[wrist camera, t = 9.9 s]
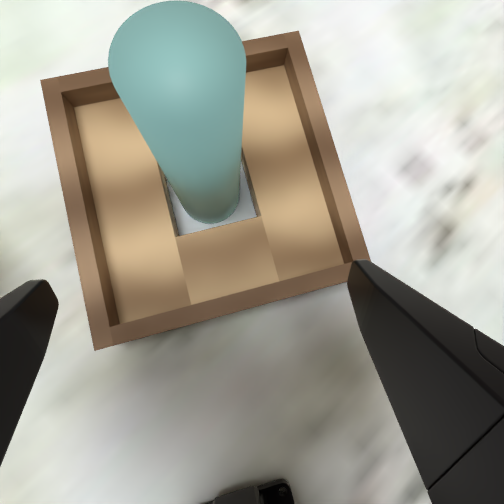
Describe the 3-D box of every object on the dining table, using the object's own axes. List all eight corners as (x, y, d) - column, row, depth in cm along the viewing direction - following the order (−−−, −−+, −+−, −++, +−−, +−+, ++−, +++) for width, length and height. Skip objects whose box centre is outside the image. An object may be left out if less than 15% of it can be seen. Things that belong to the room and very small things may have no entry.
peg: (250, 190, 22) (272, 52, 9) (215, 234, 21) (190, 151, 9) (204, 157, 22) (167, -23, 9) (169, 200, 21) (79, 69, 9)
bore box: (351, 277, 21) (374, 273, 18) (118, 340, 20) (94, 350, 16) (288, 70, 23) (298, 30, 20) (71, 114, 22) (40, 79, 18)
